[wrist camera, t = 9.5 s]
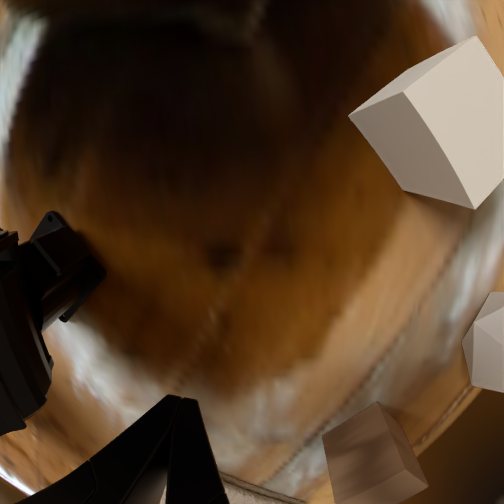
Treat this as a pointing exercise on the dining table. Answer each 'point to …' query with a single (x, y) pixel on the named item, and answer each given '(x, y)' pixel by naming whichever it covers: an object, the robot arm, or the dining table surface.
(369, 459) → the walnut block
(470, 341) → the die
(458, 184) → the pale grey block
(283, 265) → the dining table surface
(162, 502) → the washcloth
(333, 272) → the dining table surface
